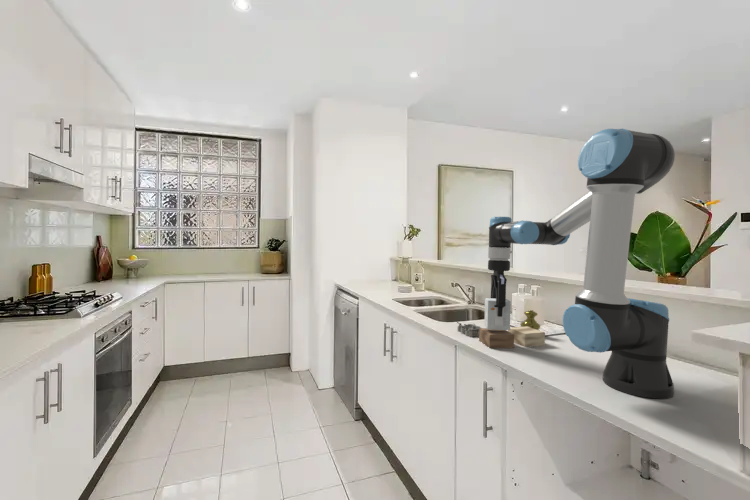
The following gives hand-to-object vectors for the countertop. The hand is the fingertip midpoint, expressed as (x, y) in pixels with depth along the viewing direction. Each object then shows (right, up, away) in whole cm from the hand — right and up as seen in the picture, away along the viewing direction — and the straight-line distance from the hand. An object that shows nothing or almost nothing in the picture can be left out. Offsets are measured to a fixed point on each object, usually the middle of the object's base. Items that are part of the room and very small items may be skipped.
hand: (496, 323), depth 131 cm
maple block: (+12, -8, +4) cm, 15 cm away
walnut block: (0, -8, 0) cm, 8 cm away
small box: (0, -2, 0) cm, 2 cm away
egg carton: (-6, -8, +15) cm, 18 cm away
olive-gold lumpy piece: (+19, -8, +15) cm, 25 cm away
